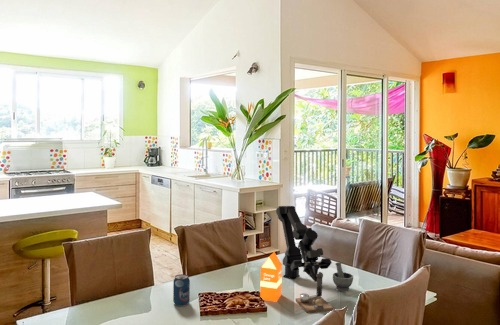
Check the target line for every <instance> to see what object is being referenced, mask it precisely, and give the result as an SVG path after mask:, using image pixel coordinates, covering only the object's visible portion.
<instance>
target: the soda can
mask: <svg viewBox="0 0 500 325" xmlns="http://www.w3.org/2000/svg"><path fill="white" fill-rule="evenodd" d="M190 281H191V280H190V278H189V275H187V274H184V273H183V274H177V275H175V277H174V278H173V290H172V291H173V292H172V293H173V303H174V305H175V306H177V307H185V306H188V304H189V303H190V292H191V291H190V288H191V287H190V286H191V284H190V283H191V282H190Z"/></svg>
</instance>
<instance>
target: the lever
mask: <svg viewBox="0 0 500 325" xmlns="http://www.w3.org/2000/svg"><path fill="white" fill-rule="evenodd" d="M316 276H317V282H316V293H315V294H314V295H310V294H308V293H299V298H300V302H303V303H307V302H309V301H311V300H315V299H320V296H323V278H324V274H323V272H321V271H318V273H317V274H316Z"/></svg>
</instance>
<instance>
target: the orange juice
mask: <svg viewBox="0 0 500 325" xmlns="http://www.w3.org/2000/svg"><path fill="white" fill-rule="evenodd" d="M282 271H283V263H282V262H281V261H280V259H279V257H278V256H277V254H276V252H275V251H273V253H271V254H270V255H269V256H268V258H267V259H266V260H265V261H264V262H263V264H262V265H261V267H260V283H259V284H260V288H259V289H260V291H259V292H260V293H259V294H260V295H259V296H260V297H261V298H262V299H264V300H263V301H269V302H274V303H277V302H278V300H279V299H280V297H281V296H282V284H283V283H282V282H283V276H282V275H283V272H282ZM260 297H259V298H260Z"/></svg>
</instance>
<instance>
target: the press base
mask: <svg viewBox="0 0 500 325" xmlns="http://www.w3.org/2000/svg"><path fill="white" fill-rule="evenodd" d="M295 302H296V304H298V306H299V307H300V308H301V309H303V311H304V312H306V313H307V314H312V313H321V312H323V313H324V312H330V311H331V310H332V311H334V307H333V305H331V304H330V303H329V302H328V301H327V300H325V299H324V298H323V297H321V296H320V299H315V300H311V301H309V302H307V303H303V302H300V297H299V298H295Z"/></svg>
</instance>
